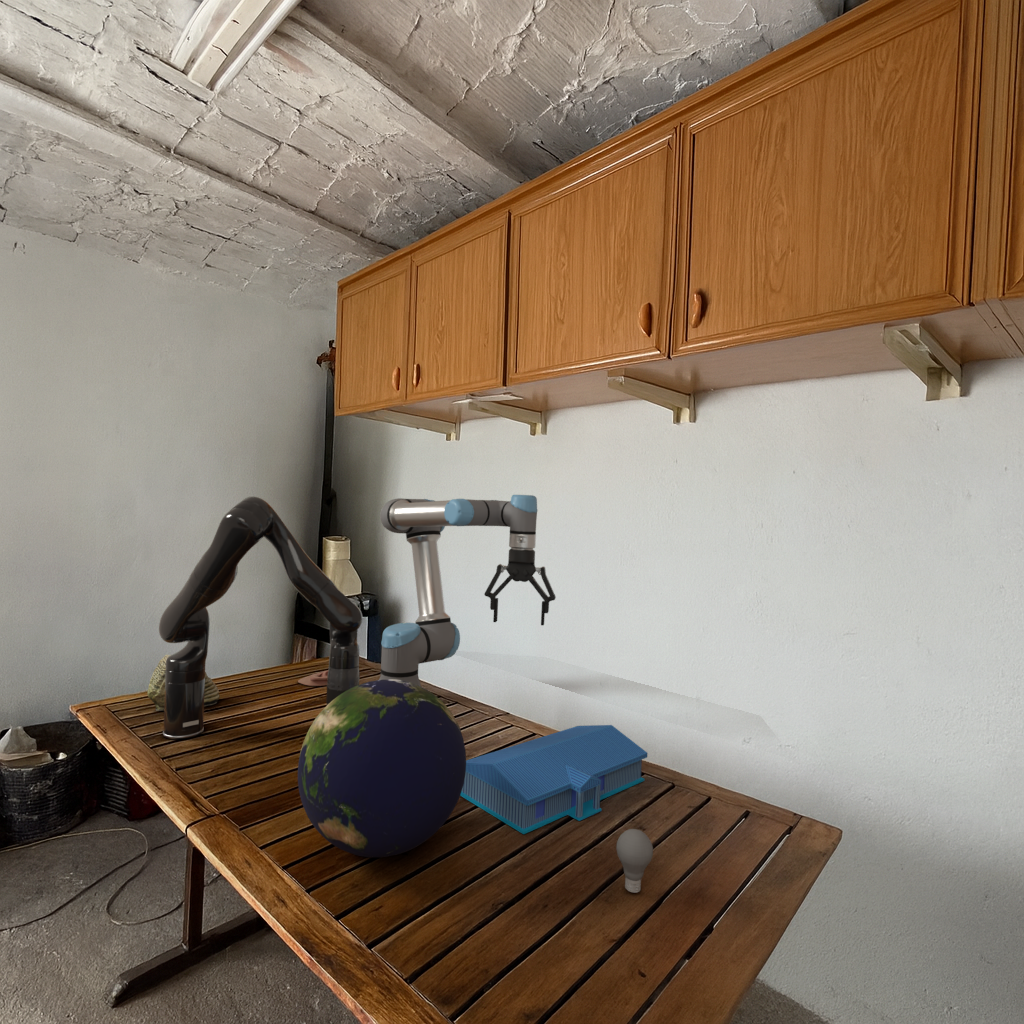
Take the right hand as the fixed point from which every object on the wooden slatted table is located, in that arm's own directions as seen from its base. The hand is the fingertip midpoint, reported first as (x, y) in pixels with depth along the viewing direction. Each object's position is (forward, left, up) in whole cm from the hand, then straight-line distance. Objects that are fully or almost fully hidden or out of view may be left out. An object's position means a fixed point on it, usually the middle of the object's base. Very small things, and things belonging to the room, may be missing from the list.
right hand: (518, 623), depth 181 cm
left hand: (+33, -39, -28) cm, 58 cm away
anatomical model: (-25, -69, -29) cm, 79 cm away
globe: (+68, -17, -29) cm, 76 cm away
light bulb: (+73, +28, -29) cm, 84 cm away
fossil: (+8, -97, -29) cm, 101 cm away
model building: (+38, +15, -29) cm, 50 cm away
